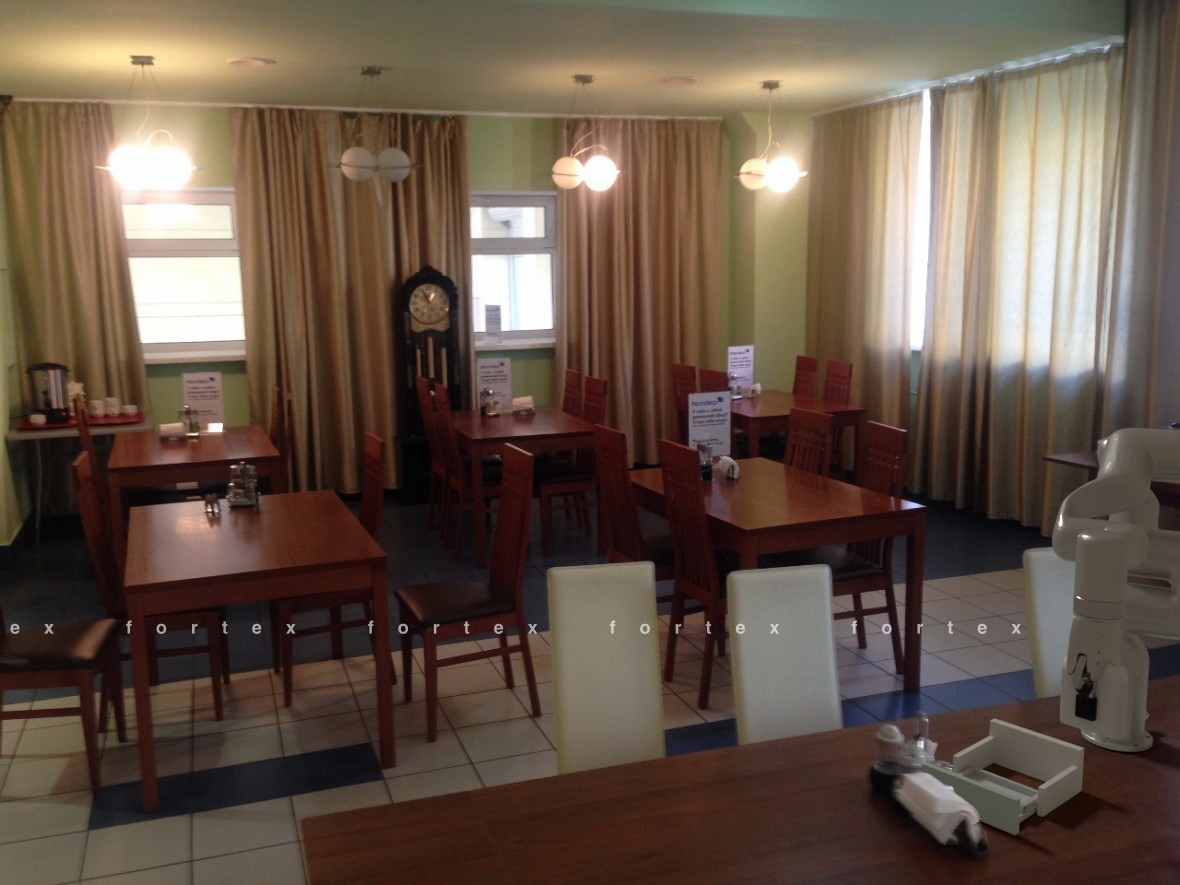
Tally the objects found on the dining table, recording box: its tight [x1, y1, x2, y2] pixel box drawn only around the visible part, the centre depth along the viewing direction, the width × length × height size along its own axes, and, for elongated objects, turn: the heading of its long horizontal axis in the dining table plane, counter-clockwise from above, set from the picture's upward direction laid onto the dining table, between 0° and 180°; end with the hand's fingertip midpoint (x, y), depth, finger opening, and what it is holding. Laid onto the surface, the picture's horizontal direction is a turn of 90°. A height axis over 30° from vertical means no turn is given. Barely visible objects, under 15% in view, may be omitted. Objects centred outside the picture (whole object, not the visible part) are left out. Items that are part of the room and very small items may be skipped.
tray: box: [922, 762, 1038, 836], centre depth 177 cm, size 14×17×6 cm
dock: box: [952, 717, 1085, 818], centre depth 183 cm, size 14×17×8 cm
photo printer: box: [1059, 655, 1129, 739], centre depth 168 cm, size 10×4×12 cm, turn 40°
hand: (1092, 713), depth 168 cm, fingers closed on photo printer, 4 cm apart
